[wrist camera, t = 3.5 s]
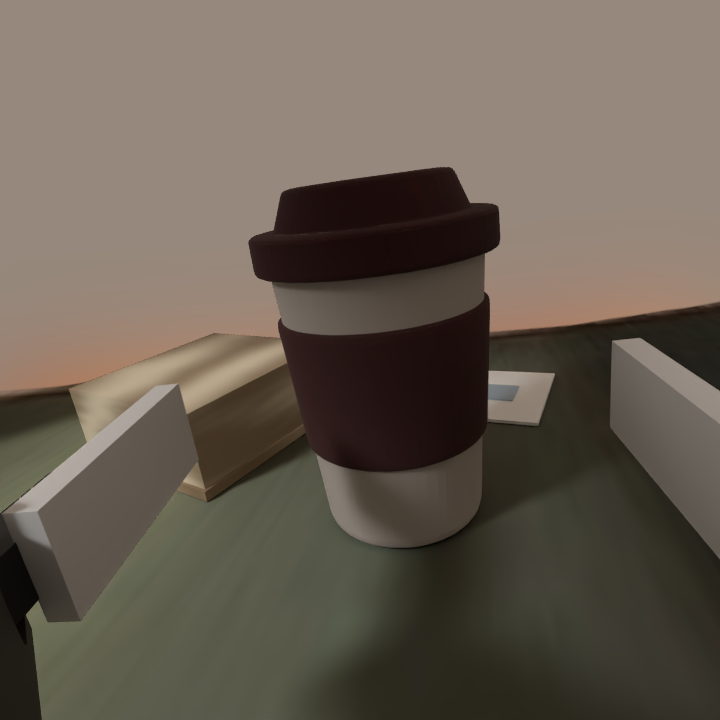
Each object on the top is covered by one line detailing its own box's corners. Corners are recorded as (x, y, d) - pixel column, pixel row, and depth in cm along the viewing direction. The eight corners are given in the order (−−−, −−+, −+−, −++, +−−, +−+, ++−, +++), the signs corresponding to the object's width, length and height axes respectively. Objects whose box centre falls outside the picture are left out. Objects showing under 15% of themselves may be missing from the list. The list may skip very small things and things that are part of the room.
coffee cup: (408, 434, 31) (379, 177, 27) (555, 495, 24) (552, 151, 19) (267, 509, 26) (198, 202, 21) (400, 619, 18) (339, 178, 13)
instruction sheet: (384, 412, 35) (383, 408, 35) (423, 370, 41) (423, 366, 41) (538, 426, 30) (538, 421, 30) (554, 375, 37) (554, 372, 37)
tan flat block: (87, 458, 34) (64, 389, 33) (227, 388, 44) (214, 332, 42) (207, 501, 27) (184, 417, 26) (343, 407, 37) (332, 340, 35)
